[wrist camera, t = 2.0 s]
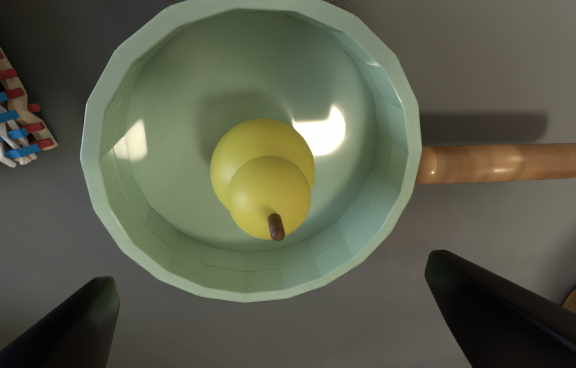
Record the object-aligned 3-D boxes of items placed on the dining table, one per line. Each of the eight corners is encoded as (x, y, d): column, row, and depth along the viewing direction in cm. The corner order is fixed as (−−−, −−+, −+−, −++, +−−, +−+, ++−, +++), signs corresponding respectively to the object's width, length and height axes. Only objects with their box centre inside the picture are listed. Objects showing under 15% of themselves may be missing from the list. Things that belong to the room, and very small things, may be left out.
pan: (364, 246, 23) (390, 289, 19) (141, 262, 20) (121, 315, 17) (406, 4, 16) (458, -2, 13) (83, -13, 14) (29, -27, 10)
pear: (301, 190, 19) (343, 288, 12) (215, 193, 18) (206, 301, 11) (305, 106, 17) (361, 166, 10) (209, 106, 16) (193, 171, 9)
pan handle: (576, 168, 20) (610, 182, 18) (395, 175, 18) (413, 192, 16) (590, 137, 19) (627, 149, 17) (402, 141, 17) (422, 154, 15)
